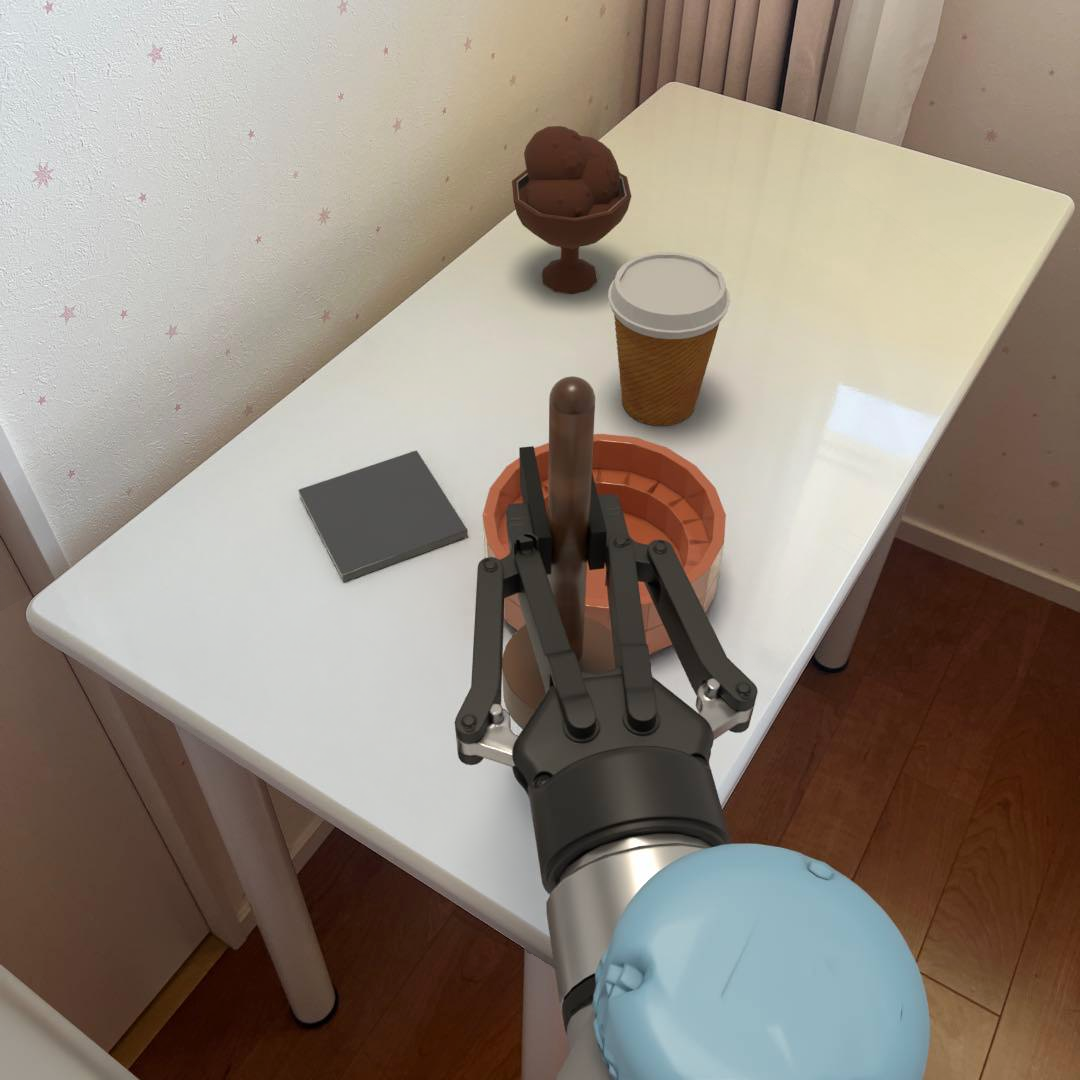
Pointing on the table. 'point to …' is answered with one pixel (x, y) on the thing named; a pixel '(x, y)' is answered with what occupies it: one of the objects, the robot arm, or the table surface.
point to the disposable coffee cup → (665, 332)
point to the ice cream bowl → (569, 200)
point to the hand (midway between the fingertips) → (551, 464)
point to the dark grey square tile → (381, 515)
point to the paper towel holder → (563, 551)
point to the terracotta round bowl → (630, 520)
